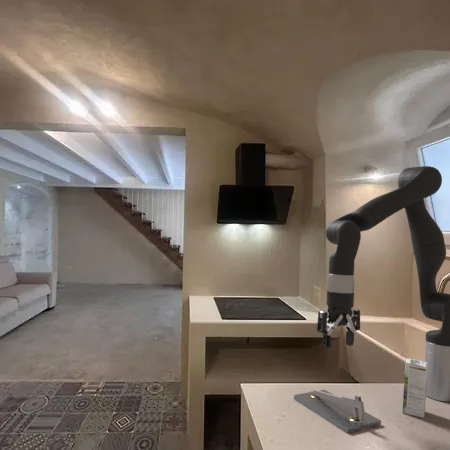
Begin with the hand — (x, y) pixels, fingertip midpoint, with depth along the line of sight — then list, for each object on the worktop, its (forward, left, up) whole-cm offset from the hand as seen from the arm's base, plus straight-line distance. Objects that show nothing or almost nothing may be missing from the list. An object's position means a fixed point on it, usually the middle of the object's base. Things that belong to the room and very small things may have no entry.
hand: (338, 346), depth 112 cm
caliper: (0, 0, -17) cm, 17 cm away
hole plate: (+1, 0, -18) cm, 18 cm away
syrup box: (-21, +9, -18) cm, 30 cm away
